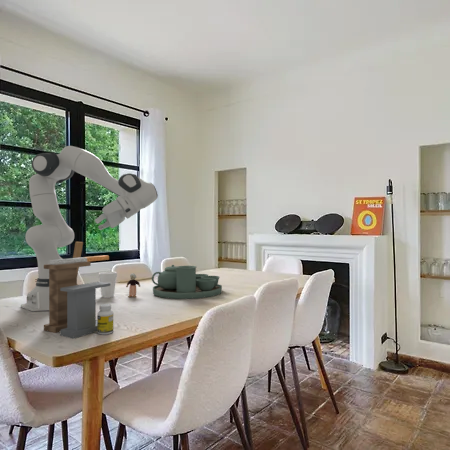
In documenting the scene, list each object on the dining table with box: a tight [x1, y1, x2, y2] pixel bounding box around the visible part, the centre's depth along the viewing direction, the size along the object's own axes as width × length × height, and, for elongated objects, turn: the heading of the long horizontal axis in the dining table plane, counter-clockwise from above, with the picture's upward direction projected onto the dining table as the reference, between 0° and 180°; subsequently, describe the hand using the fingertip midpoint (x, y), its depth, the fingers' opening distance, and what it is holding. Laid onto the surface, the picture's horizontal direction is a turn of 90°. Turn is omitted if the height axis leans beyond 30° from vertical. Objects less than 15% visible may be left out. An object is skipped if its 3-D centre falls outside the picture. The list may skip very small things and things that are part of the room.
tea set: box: [151, 264, 223, 300], centre depth 207 cm, size 40×40×16 cm
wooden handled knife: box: [50, 255, 110, 265], centre depth 141 cm, size 3×25×2 cm, turn 150°
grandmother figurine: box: [125, 273, 141, 298], centre depth 194 cm, size 8×4×13 cm, turn 101°
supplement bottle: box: [96, 303, 114, 336], centre depth 127 cm, size 5×5×10 cm
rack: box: [59, 281, 110, 339], centre depth 129 cm, size 7×16×16 cm, turn 150°
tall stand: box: [43, 261, 92, 334], centre depth 135 cm, size 7×15×24 cm, turn 150°
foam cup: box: [98, 271, 118, 299], centre depth 195 cm, size 10×9×13 cm
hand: (97, 225), depth 153 cm, fingers open, 8 cm apart
